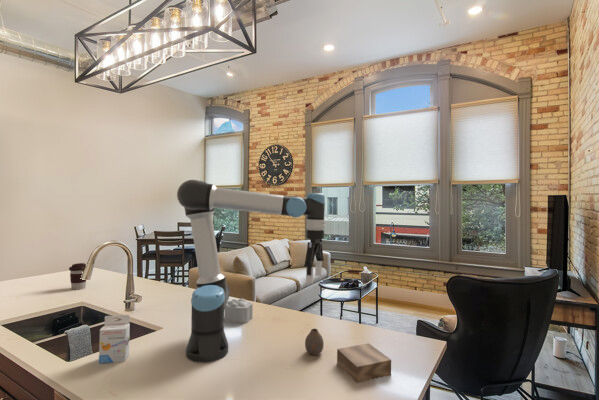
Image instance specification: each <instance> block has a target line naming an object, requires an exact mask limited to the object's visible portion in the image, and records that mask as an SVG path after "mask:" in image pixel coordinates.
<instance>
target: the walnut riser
mask: <svg viewBox="0 0 599 400" xmlns="http://www.w3.org/2000/svg"><path fill="white" fill-rule="evenodd" d="M336 363H337V365H339V367H341V369H342V370H343V371H344V372H345V373H346V374H347V375H349V377H350V378H351V379H353V381H355V383H358V384H359V383H362V382H366V381H370V379H371V380H375V378H376V379H380V378H384V376H385V377H389V376H392V359H391V358H390V357H388V356H387V355H385V354H384V353H383V352H382V351H380V350H379V349H377V348H375V347H374V346H373V345H372V344H370V343H364V344H358V345H351V346H346V347H341V348H337V352H336ZM379 377H380V378H379Z"/></svg>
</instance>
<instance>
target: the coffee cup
mask: <svg viewBox="0 0 599 400" xmlns="http://www.w3.org/2000/svg"><path fill="white" fill-rule="evenodd" d="M85 265H87V264H86V263H83V262H80V263H73V264H72V265H71V266H70V267H69V268H68V271H70V273H69V277H70V279H69V280H70V285H71V286H70V288H71V290H73V291H74V290H75V291H77V290H83V289H85V288H86V287H87V281H86V280H82V279H80V278H81V275H82V268H83V267H84V266H85Z"/></svg>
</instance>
